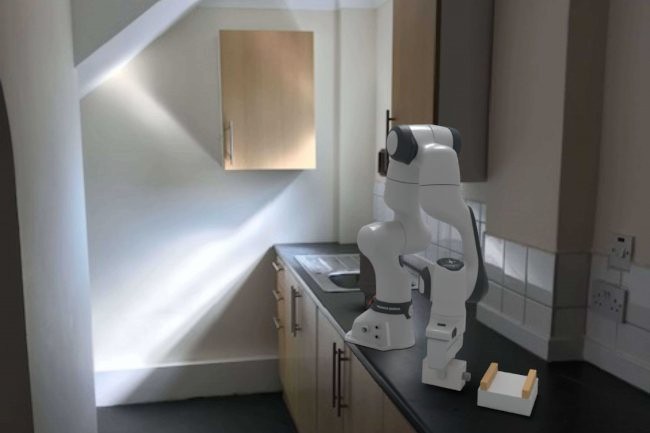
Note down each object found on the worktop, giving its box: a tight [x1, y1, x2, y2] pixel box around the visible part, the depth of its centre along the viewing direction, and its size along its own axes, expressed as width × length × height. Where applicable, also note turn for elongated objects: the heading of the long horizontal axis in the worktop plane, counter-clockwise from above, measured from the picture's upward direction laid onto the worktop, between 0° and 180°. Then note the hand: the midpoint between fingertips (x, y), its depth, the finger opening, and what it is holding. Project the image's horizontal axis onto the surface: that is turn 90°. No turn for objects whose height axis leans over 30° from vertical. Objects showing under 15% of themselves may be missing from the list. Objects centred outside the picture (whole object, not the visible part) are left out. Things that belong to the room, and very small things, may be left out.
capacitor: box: [358, 250, 376, 311], centre depth 218 cm, size 14×14×30 cm
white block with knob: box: [421, 355, 471, 391], centre depth 146 cm, size 12×5×6 cm, turn 62°
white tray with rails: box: [477, 362, 539, 417], centre depth 140 cm, size 12×14×6 cm
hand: (445, 374), depth 147 cm, fingers closed on white block with knob, 5 cm apart
